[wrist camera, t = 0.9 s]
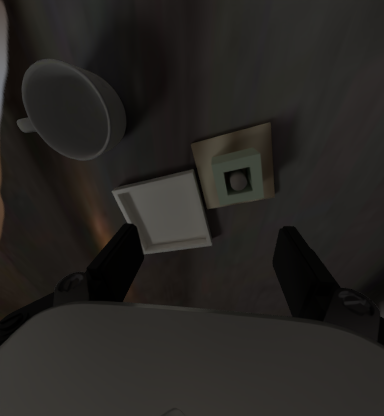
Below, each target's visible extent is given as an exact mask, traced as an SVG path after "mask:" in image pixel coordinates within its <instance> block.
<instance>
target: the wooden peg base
mask: <svg viewBox="0 0 384 416" xmlns="http://www.w3.org/2000/svg"><path fill="white" fill-rule="evenodd" d="M191 147H192V151H193V155H194V159H195V163H196V167H197V171H198V175H199V178H200V182H201V186H202V190H203V194H204V198H205V202H206V206H207V209H211V208H217V207H222V206H228V205H234V204H239V203H245V202H250V201H256V200H261V199H267V198H273V197H275V193H274V175H273V157H272V138H271V123H265V124H261V125H258V126H254V127H250V128H247V129H243V130H239V131H236V132H232V133H228V134H225V135H221V136H217V137H214V138H210V139H206V140H203V141H199V142H195V143H192V144H191ZM252 147H253V148H254V149H255V150H256V151H258V152H259V153H260V157H261V169H262V180H263V192H264V198H260V199H255V200H249V201H244V202H238V203H233V204H227V205H221V206H220V203H219V198H218V194H217V189H216V185H215V180H214V175H213V171H212V166H211V162H212V157H216V156H220V155H224V154H228V153H232V152H236V151H240V150H244V149H248V148H252ZM224 178H225V183H226V184H229V183H231V187H232V188H233V189H234V190H238V191H239V190H242V189H244V188H245V187H246V185H247V176H246V168H242V169H237V170H233V171H228V172H224Z"/></svg>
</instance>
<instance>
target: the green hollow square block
mask: <svg viewBox="0 0 384 416" xmlns="http://www.w3.org/2000/svg"><path fill="white" fill-rule="evenodd" d="M211 166H212V171H213V175H214V180H215V185H216V189H217V194H218V198H219V203H220V206H221V205H227V204H233V203H238V202H244V201H249V200H255V199H260V198H264V192H263V180H262V169H261V157H260V153H259V152H258V151H256V150H255V149H254V148H253V147H252V148H248V149H244V150H240V151H236V152H232V153H228V154H224V155H220V156H216V157H212V162H211ZM242 168H246V176H247V185H246V187H245V188H244V189H242V190H239V191H238V190H234V189H233V188H232V187H231V183H229V184H226V183H225V178H224V172H228V171H233V170H237V169H242Z"/></svg>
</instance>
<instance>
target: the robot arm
mask: <svg viewBox="0 0 384 416" xmlns="http://www.w3.org/2000/svg"><path fill="white" fill-rule="evenodd" d="M143 260H144V253H143V249H142V245H141V241H140V237H139V233H138V229H137V226H135V225H134V224H130V223H125V224H124V225H123V226H122V227H121V228H120V229H119V231H118V232H117V233H116V234H115V235H114V236H113V238H112V239H111V240H110V241H109V242H108V244H107V245H106V246H105V247H104V248H103V249H102V251H101V252H100V253H99V254H98V255H97V256H96V258H95V259H94V260H93V261H92V262H91V264H90V265H89V266H88V267H87V271H86V272H85V273H84V272H74V273H71V274H69V275H67V276H65V277H64V278H63V279H61V280H60V281H59V282H58V283H57V285H56V286H55V290H54V292H53V293H51V294H49V295H47V296H45V297H43V298H41V299H39V300H37V301H35V302H33V303H31V304H28V305H26V306H24V307H22V308H20V309H18V310H16V311H14V312H12V313H11V314H9V315H8V316H6V317H5V318H3V319H2V320H1V321H0V416H384V318H382V317H380V311H379V309H378V307H377V306H376V305H375V303H374V302H373V301H372V300H370V299H369V298H368V297H367V296H365V295H363V294H362V293H360V292H358V291H355V290H353V289H349V288H341V287H340V286H339V285H338V283H337V282H336V281H335V279H334V278H333V277H332V275H331V274H330V272H329V271H328V270H327V268H326V267H325V266H324V264H323V263H322V262H321V260H320V259H319V257H318V256H317V255H316V253H315V252H314V251H313V250H312V249H310V247H309V246H308V244H307V243H306V242H305V240H304V239H303V237H302V236H301V235H300V233H299V232H298V231H297V229H296V228H295V227H294V226H284V227H283V228H282V229H280V230H279V234H278V239H277V243H276V248H275V252H274V257H273V267H274V270H275V272H276V275H277V278H278V280H279V283H280V285H281V288H282V290H283V293H284V296H285V298H286V301H287V303H288V306H289V309H290V311H291V314H292V316H293V317H287V316H278V315H268V314H257V313H246V312H235V311H224V310H213V309H201V308H189V307H177V306H165V305H152V304H139V303H127V302H123V300H124V298H125V296H126V294H127V292H128V290H129V288H130V286H131V284H132V282H133V280H134V278H135V276H136V274H137V272H138V270H139V268H140V266H141V264H142V262H143Z"/></svg>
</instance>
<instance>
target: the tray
mask: <svg viewBox="0 0 384 416" xmlns="http://www.w3.org/2000/svg"><path fill="white" fill-rule="evenodd" d="M112 193H113V195H114V197H115V199H116V201H117V203H118V205H119V207H120V209H121V211H122V213H123V215H124V217H125V219H126V221H127V223H130V224H134V225H135V226H137V229H138V233H139V237H140V241H141V245H142V249H143V253H144V254H151V253H159V252H166V251H174V250H182V249H189V248H197V247H204V246H212V236H211V232H210V228H209V225H208V221H207V217H206V213H205V209H204V206H203V202H202V198H201V194H200V190H199V186H198V183H197V179H196V175H195V171H194V169H192V170H188V171H184V172H179V173H175V174H171V175H167V176H162V177H158V178H154V179H150V180H146V181H141V182H137V183H133V184H129V185H124V186H120V187H117V188H116V189H114V190H113V191H112Z"/></svg>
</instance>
